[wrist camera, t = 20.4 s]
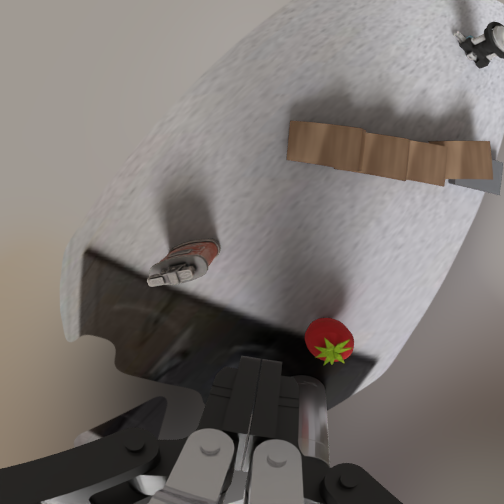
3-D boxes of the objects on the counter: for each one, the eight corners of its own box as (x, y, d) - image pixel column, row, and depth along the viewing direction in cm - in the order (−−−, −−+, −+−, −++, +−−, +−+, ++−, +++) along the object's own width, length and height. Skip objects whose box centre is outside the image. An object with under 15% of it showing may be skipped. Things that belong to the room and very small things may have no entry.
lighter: (216, 234, 43) (195, 259, 34) (223, 256, 44) (205, 286, 35) (167, 246, 45) (136, 272, 36) (174, 267, 46) (146, 297, 36)
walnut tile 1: (298, 122, 37) (366, 130, 33) (294, 160, 39) (361, 171, 34) (290, 120, 35) (362, 128, 31) (286, 159, 37) (357, 171, 32)
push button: (446, 44, 29) (479, 24, 20) (459, 25, 27) (490, 5, 18) (477, 75, 30) (514, 64, 20) (488, 56, 28) (524, 43, 19)
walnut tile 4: (428, 142, 35) (486, 142, 30) (432, 178, 36) (490, 179, 31) (428, 141, 33) (489, 141, 28) (432, 179, 34) (493, 179, 29)
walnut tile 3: (380, 137, 36) (445, 147, 32) (378, 174, 38) (442, 185, 34) (379, 135, 34) (447, 147, 30) (376, 174, 36) (444, 186, 32)
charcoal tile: (450, 148, 35) (494, 161, 34) (447, 182, 37) (491, 192, 36) (458, 149, 33) (503, 162, 32) (454, 184, 34) (499, 195, 33)
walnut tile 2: (342, 131, 36) (410, 140, 32) (339, 168, 38) (406, 180, 34) (337, 129, 34) (408, 139, 30) (333, 168, 36) (404, 181, 32)
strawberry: (318, 294, 44) (323, 332, 35) (357, 317, 45) (369, 357, 35) (295, 323, 46) (295, 364, 37) (334, 344, 47) (340, 386, 37)
